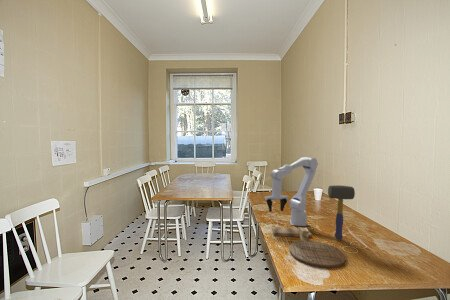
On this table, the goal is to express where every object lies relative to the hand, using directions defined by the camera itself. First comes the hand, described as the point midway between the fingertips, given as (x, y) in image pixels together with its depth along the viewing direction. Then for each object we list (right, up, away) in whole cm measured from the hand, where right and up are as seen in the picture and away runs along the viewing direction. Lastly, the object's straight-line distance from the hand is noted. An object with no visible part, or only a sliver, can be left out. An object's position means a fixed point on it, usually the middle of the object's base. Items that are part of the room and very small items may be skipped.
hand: (276, 211), depth 153 cm
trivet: (+12, -13, -35) cm, 39 cm away
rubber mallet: (+31, -12, -16) cm, 37 cm away
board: (+7, -11, -10) cm, 16 cm away
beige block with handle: (+12, -11, -14) cm, 21 cm away
